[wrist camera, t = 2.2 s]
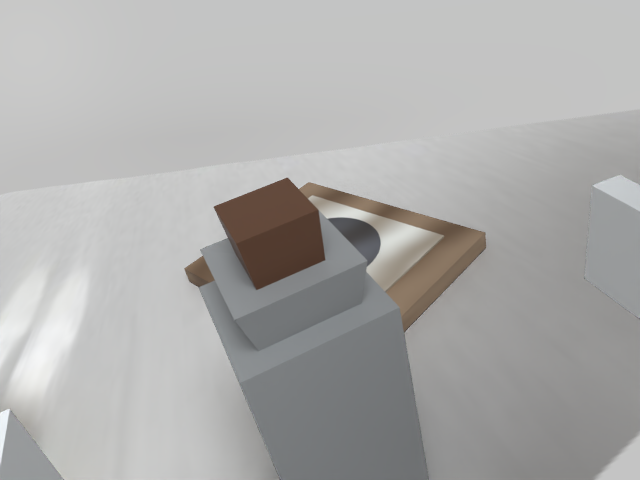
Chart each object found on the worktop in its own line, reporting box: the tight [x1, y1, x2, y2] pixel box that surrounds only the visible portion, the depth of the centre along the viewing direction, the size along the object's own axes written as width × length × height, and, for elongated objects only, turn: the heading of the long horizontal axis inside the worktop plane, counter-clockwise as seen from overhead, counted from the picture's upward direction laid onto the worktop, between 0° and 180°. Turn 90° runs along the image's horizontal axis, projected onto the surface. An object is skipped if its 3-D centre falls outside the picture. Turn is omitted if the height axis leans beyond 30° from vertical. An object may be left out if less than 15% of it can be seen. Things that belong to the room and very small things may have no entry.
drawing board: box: [185, 182, 486, 332], centre depth 47 cm, size 20×16×2 cm
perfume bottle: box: [199, 178, 429, 480], centre depth 27 cm, size 7×7×18 cm
